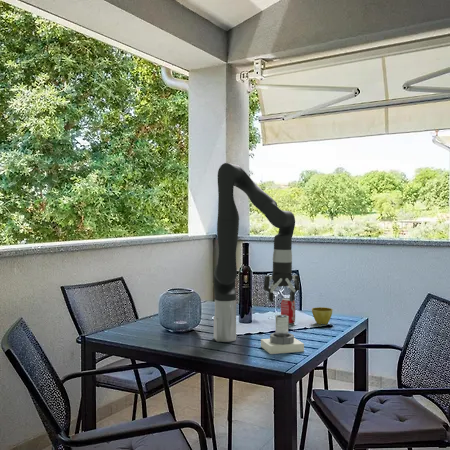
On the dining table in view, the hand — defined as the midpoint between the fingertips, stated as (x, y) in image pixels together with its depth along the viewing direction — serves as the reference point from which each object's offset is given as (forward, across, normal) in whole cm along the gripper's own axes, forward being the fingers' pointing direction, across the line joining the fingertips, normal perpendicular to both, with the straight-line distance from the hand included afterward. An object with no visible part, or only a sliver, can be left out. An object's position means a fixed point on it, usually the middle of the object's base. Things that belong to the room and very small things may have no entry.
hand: (281, 301), depth 188 cm
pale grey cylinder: (+16, +1, 0) cm, 16 cm away
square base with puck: (+19, +1, 0) cm, 19 cm away
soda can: (+19, +20, +42) cm, 51 cm away
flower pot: (+19, +36, +38) cm, 55 cm away
